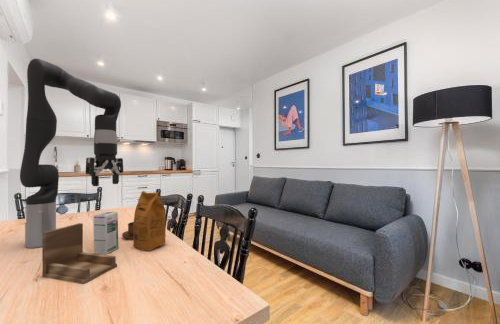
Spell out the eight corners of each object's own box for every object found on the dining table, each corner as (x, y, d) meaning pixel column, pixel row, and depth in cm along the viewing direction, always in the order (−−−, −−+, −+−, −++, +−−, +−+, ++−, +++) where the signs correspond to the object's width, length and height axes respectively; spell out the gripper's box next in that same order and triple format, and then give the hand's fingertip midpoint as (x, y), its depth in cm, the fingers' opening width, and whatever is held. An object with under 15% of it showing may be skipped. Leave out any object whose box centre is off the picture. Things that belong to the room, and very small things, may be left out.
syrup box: (106, 254, 83) (106, 215, 83) (93, 253, 84) (93, 214, 84) (118, 248, 89) (118, 211, 89) (105, 247, 90) (105, 211, 90)
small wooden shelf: (42, 276, 67) (42, 232, 67) (79, 261, 78) (79, 223, 78) (83, 284, 63) (83, 237, 63) (116, 266, 73) (116, 226, 73)
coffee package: (151, 239, 100) (151, 189, 100) (169, 245, 92) (168, 191, 92) (128, 246, 91) (128, 191, 92) (145, 253, 84) (145, 194, 84)
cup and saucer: (156, 235, 106) (156, 221, 106) (131, 242, 96) (131, 228, 96) (141, 231, 113) (141, 218, 113) (116, 237, 102) (116, 224, 103)
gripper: (113, 144, 95) (113, 183, 95) (79, 141, 81) (80, 186, 81) (128, 143, 93) (128, 183, 92) (96, 140, 79) (96, 187, 79)
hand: (105, 185), depth 87 cm, fingers open, 8 cm apart
